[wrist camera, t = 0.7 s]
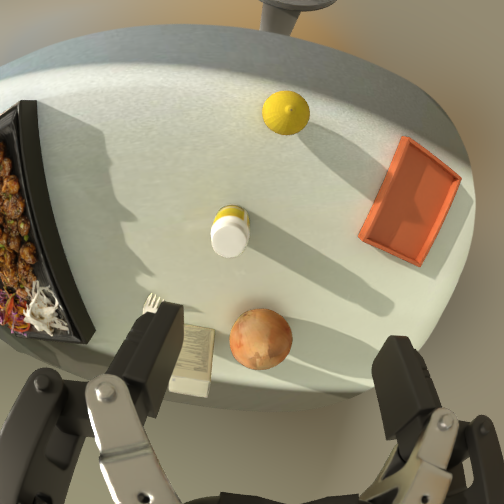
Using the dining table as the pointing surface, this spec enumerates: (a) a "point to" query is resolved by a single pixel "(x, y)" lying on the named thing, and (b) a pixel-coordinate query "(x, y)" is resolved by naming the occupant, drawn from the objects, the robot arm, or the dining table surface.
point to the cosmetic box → (194, 362)
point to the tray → (411, 203)
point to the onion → (260, 339)
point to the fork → (150, 307)
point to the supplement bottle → (230, 231)
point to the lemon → (286, 112)
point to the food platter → (33, 241)
